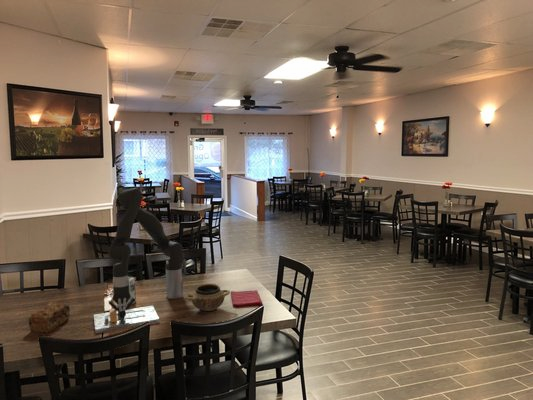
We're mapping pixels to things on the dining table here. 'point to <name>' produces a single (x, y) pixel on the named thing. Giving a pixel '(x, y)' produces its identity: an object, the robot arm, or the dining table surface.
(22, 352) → the dining table surface
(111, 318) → the fader knob
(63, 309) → the bread
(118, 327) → the console panel
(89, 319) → the dining table surface
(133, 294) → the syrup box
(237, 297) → the dish towel
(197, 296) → the ceramic bowl
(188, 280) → the dining table surface
